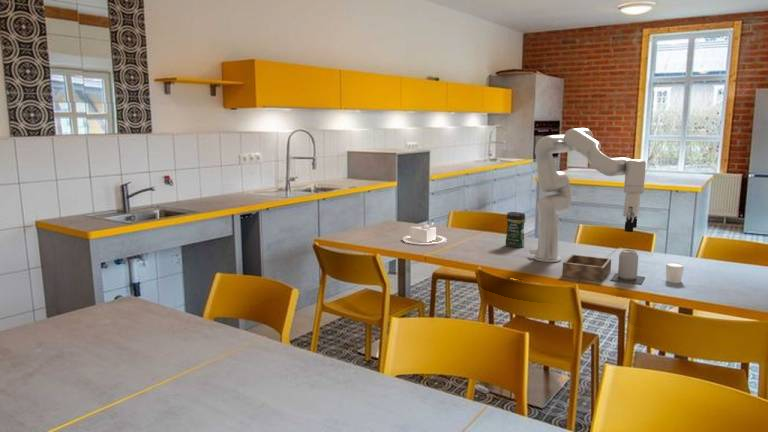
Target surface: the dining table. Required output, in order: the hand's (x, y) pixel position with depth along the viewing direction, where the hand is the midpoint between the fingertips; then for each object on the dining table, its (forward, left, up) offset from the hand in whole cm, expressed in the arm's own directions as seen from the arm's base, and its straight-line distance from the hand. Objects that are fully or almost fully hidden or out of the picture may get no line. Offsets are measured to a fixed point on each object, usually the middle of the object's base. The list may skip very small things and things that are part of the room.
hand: (630, 229), depth 240 cm
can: (0, 0, -21) cm, 21 cm away
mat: (0, 0, -22) cm, 22 cm away
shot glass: (+17, +7, -22) cm, 29 cm away
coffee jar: (-62, +37, -22) cm, 75 cm away
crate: (-17, 0, -22) cm, 27 cm away
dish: (-111, +26, -22) cm, 116 cm away
